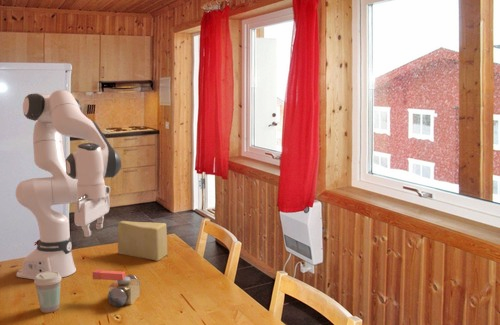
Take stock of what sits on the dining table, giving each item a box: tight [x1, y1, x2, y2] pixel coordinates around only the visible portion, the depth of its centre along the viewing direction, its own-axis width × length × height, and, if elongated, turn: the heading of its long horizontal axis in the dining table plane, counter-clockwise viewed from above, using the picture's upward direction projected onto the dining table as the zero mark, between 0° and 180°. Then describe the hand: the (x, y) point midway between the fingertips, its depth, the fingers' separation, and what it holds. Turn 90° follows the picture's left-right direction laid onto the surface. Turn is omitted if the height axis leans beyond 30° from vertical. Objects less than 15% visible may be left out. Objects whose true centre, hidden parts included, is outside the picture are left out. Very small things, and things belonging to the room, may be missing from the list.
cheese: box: [117, 220, 168, 262], centre depth 219 cm, size 22×10×15 cm, turn 72°
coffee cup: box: [33, 271, 63, 314], centre depth 168 cm, size 8×9×12 cm
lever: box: [92, 268, 130, 285], centre depth 175 cm, size 13×4×4 cm, turn 81°
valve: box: [107, 274, 141, 308], centre depth 175 cm, size 8×13×6 cm, turn 171°
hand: (93, 232), depth 169 cm, fingers open, 8 cm apart
